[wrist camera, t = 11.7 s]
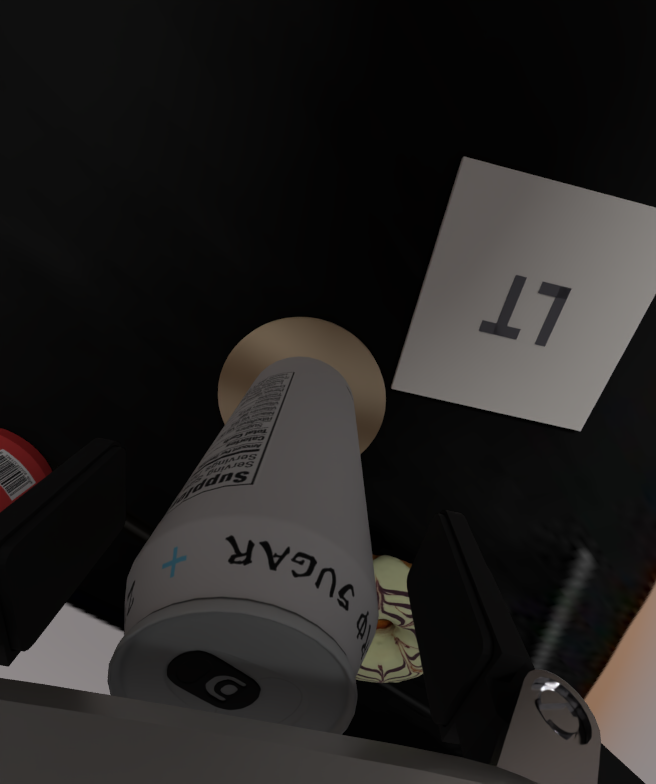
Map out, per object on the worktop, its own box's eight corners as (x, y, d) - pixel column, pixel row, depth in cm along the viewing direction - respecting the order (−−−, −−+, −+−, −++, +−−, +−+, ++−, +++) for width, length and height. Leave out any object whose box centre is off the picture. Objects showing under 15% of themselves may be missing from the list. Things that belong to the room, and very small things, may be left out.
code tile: (461, 158, 17) (464, 156, 16) (691, 219, 17) (697, 218, 17) (390, 387, 21) (391, 388, 21) (577, 428, 22) (580, 431, 21)
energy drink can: (305, 462, 22) (253, 809, 8) (231, 401, 21) (18, 694, 7) (374, 400, 21) (454, 702, 7) (299, 329, 19) (199, 522, 5)
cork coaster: (231, 298, 19) (228, 299, 19) (405, 338, 20) (407, 341, 19) (212, 451, 23) (209, 456, 22) (360, 482, 23) (361, 487, 23)
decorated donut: (378, 517, 25) (386, 560, 21) (473, 596, 27) (494, 646, 24) (281, 594, 27) (274, 643, 24) (375, 659, 30) (381, 713, 26)
